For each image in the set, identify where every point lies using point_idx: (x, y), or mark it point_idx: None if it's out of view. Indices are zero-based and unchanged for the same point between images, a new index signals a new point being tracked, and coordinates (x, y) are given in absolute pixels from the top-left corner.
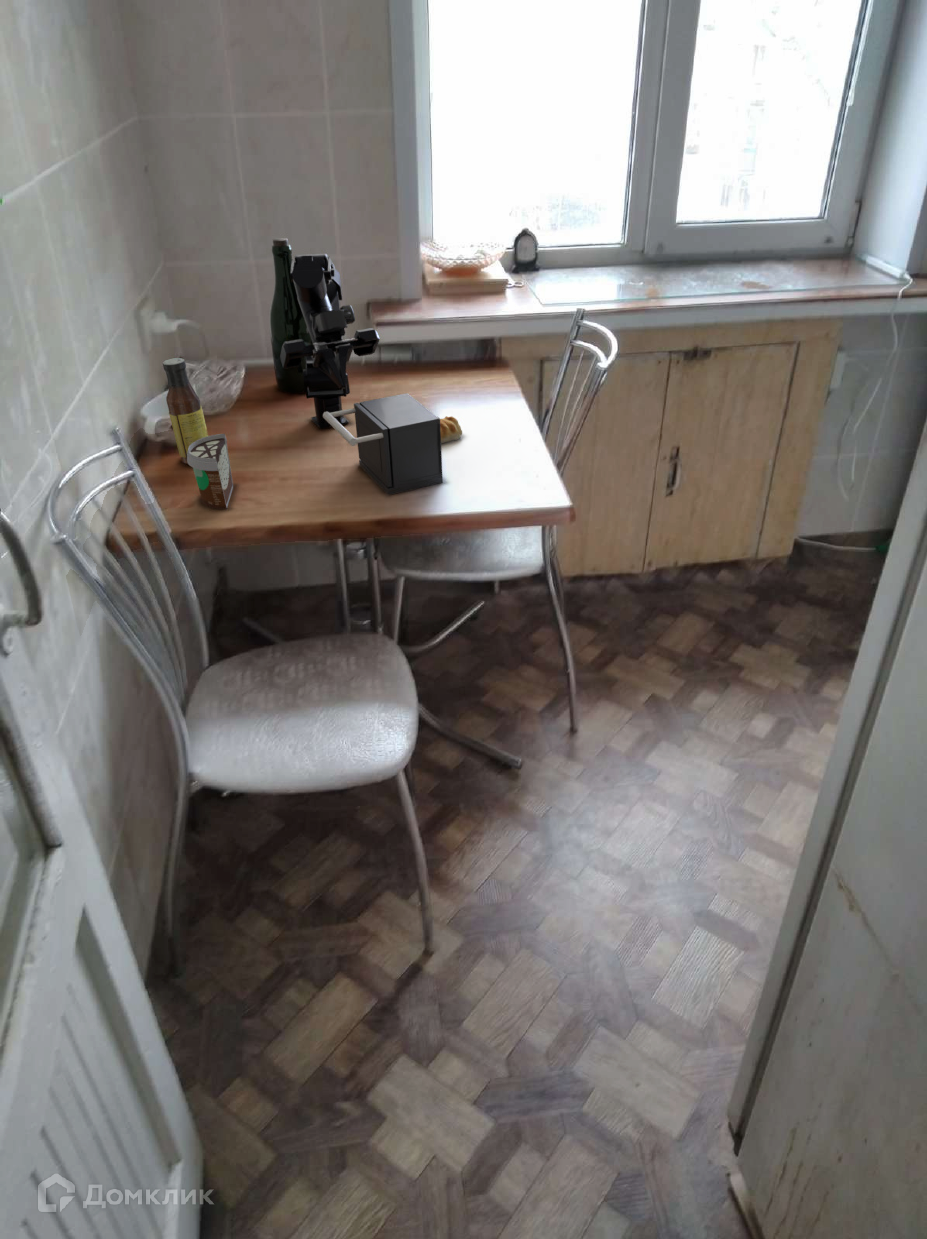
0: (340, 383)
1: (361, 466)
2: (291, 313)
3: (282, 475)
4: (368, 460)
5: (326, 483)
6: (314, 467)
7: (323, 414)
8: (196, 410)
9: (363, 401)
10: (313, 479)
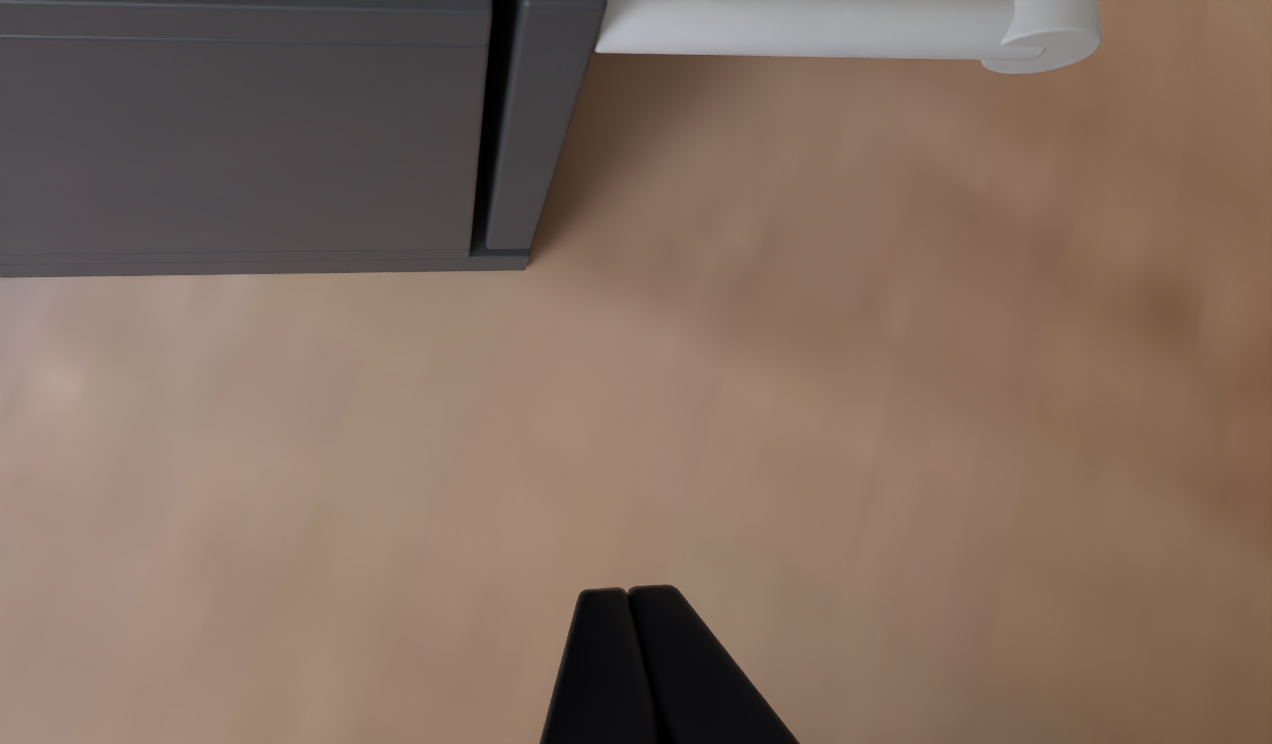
0: (704, 628)
1: None
2: None
3: (1164, 388)
4: None
5: (881, 68)
6: (895, 421)
7: (1099, 21)
8: None
9: (414, 9)
10: (957, 191)
